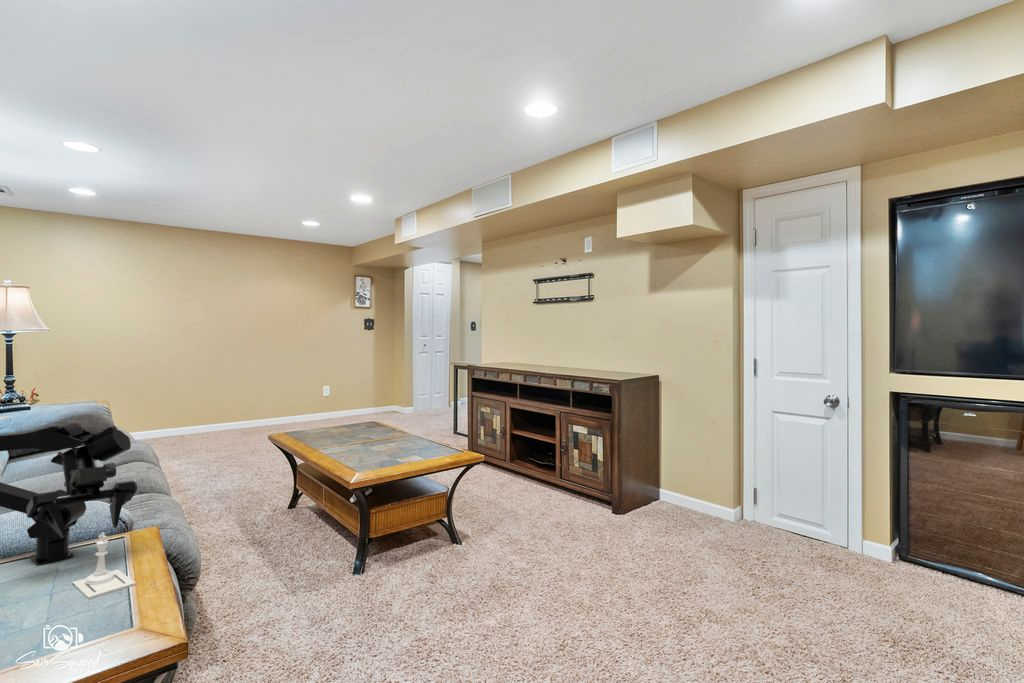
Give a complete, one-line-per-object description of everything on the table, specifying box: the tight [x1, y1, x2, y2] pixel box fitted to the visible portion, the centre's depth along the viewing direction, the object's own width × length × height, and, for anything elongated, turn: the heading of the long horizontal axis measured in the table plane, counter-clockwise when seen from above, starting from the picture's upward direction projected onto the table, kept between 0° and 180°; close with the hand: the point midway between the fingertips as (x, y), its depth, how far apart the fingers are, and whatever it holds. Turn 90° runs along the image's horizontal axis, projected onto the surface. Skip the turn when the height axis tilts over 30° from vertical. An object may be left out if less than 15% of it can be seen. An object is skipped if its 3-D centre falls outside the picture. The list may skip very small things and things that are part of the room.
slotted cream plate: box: [71, 569, 137, 600], centre depth 106 cm, size 10×8×1 cm
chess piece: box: [85, 532, 115, 585], centre depth 107 cm, size 5×5×10 cm
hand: (90, 531), depth 111 cm, fingers open, 9 cm apart
